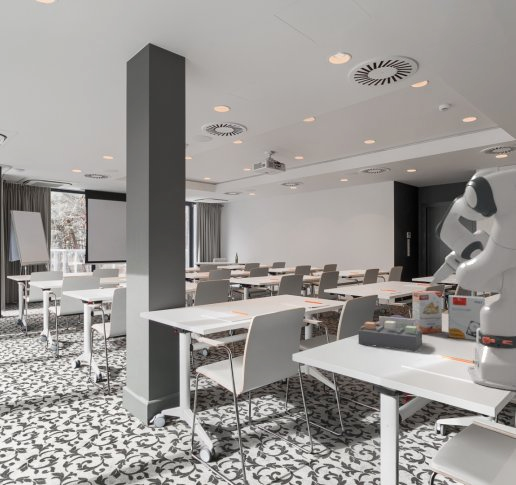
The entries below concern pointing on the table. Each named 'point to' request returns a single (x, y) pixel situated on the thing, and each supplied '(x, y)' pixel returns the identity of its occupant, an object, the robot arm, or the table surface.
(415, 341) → the key console
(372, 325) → the terracotta key
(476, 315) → the hard drive box
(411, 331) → the sage key
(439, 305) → the cracker box
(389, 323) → the cream key
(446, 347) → the table surface
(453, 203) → the robot arm
